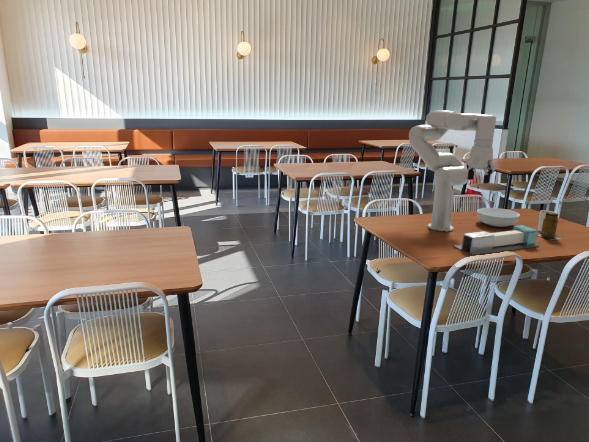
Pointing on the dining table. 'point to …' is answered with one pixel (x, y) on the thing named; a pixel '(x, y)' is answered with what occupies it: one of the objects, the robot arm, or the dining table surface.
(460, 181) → the robot arm
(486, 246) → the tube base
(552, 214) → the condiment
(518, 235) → the white rectangular stick
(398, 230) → the dining table surface
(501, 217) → the serving bowl
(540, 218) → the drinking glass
